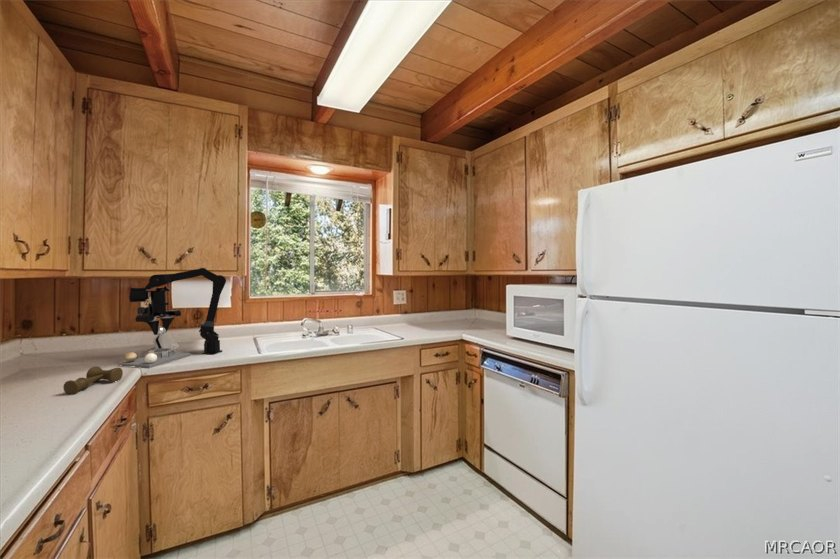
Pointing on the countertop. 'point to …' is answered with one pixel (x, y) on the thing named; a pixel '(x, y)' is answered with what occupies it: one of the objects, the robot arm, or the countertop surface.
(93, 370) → the kendama
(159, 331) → the steel ball
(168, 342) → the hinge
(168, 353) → the crimped metal cup
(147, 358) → the plastic ball
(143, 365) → the mat
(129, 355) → the tan wooden ball
